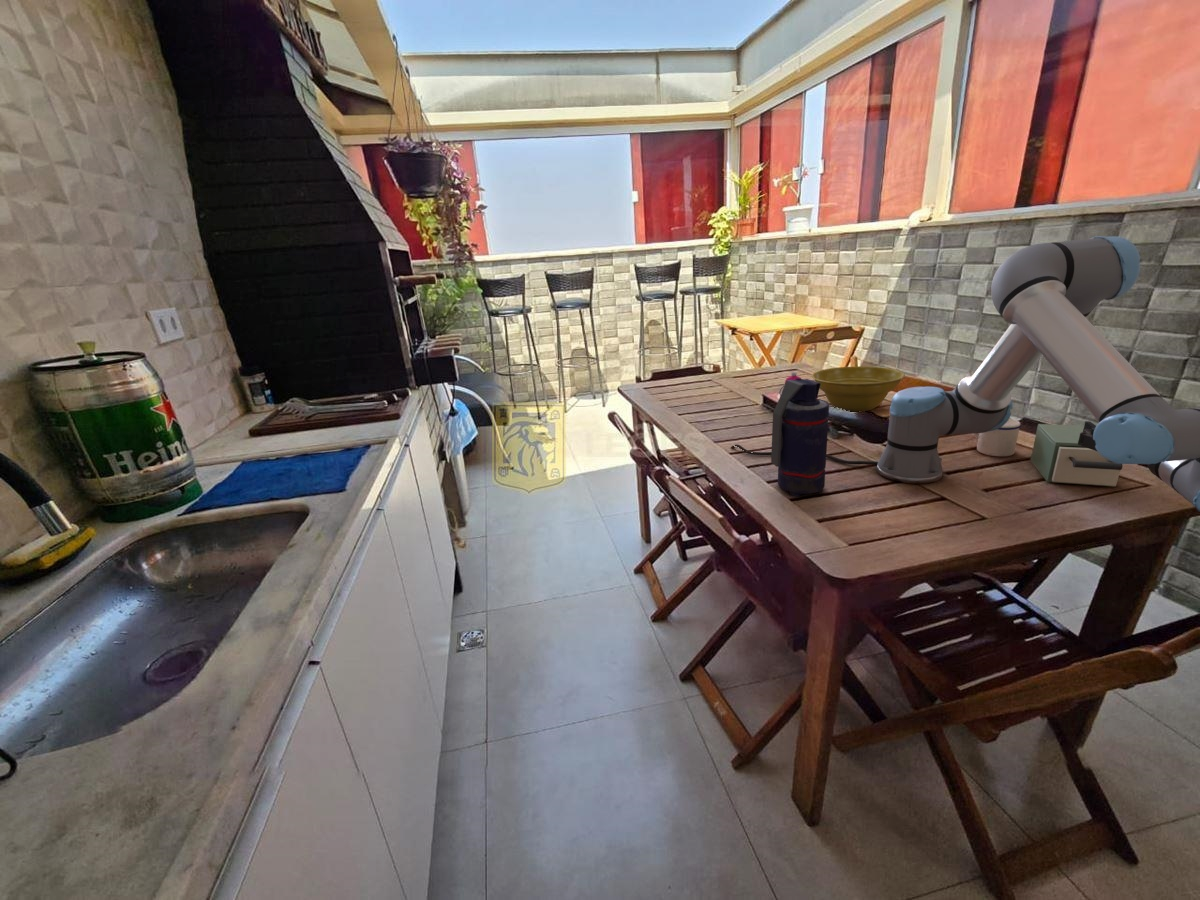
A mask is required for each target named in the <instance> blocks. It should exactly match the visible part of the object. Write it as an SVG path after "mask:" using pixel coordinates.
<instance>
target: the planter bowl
mask: <svg viewBox="0 0 1200 900" xmlns="http://www.w3.org/2000/svg"><path fill="white" fill-rule="evenodd" d="M905 377H906V373H904V372H903V371H901V370H897V369H894V368H888V367H881V366H880V367H879V366H865V365H864V366H862V365H861V366H855V365H854V366H841V367H831V368H824V369H821V370H818V371H815V372H813V373H812V374H811V378H812V379H813V380H814V381H815V382H818V383H821V385H820V389H819V390H821V391H822V392H824V395H825V398H826V399H827V400H828V401H827V402H828V403H829V405H831V406H832V407H834V406H835V407H838V408H842V409H845V410H850V411H849V412H866V411H872V410H874V409H875V408H877V407H879V406H880V405H881V403H882V402H883V401H884V400H885V399H886V397H887V395H888V394H889V393H891V391H894V390H895V389H896V388H897V387H898V386H899V384H900V382H901V381H902V379H904V378H905ZM835 407H834V408H835Z"/></svg>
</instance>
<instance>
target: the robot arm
mask: <svg viewBox="0 0 1200 900" xmlns="http://www.w3.org/2000/svg"><path fill="white" fill-rule="evenodd" d="M1140 255H1141V254H1140V252H1139V250H1138V248H1137V246H1136V245H1135V244H1134V242H1132V241H1130V240H1129V239H1127V238H1125V237H1122V236H1114V235H1113V236H1112V235H1111V236H1102V235H1097V236H1093V237H1090V238H1083V239H1074V240H1073V239H1072V240H1064V241H1054V242H1042V243H1035V244H1031V245H1028V246H1026V247H1023V248H1021V249H1019V250H1017V251H1015V252H1014V253H1013V254H1011V255H1010V256H1008V257H1007V258H1006V259H1005V260H1004V261H1003V262H1002V263H1001V264H1000V266H999V267H998V268H997V270H996V271H995V273H994V276H993V278H992V281H991V284H990V285H991V286H990V296H991V297H990V298H991V301H992V303H993V306H994V308H995V309H996V312H997V313H998V314H999V315H1000V317H1001V318H1002V319H1003V320H1004V321H1005V322H1006V323H1007V324H1010V325H1009V326H1008V328H1006V330H1005V331H1004V333H1003V334H1002V335H1001V337H1000V338H999V340H997V343H996V344H995V345H994V346H993V348H992V349H991V350H990V352H989V353H988V354H987V355H986V357H985V358H984V360H983V361H982V362H981V364H980V365H979V366H978V368H977V369H976V370H975V372H974V373H973V374H972V375H967V376H965V377H964V378H962V379H961V380H960V381H959V382H958V383H957V385H956V387H955V388H953V389H952V390H947V391H946V390H944V389H943V388H941V387H939V386H938V387H937V386H929V385H928V386H913V387H907V388H904V389H901V390H899V391H897V392H896V393H895V394H894V395H893V396H892V398H891V403H890V407H889V417H888V418H889V419H888V429H887V439H886V446H885V447H884V450H883V451H882V452H881V453H882V454H881V456H879V459H878V461H874V460H847V459H842V458H838V457H836V456H834V455H830V454H828V453H826V459H830V460H833V461H835V462H838V463H841V464H846V465H869V466H871V465H872V466H876V472H877V473H878V474H879V475H880V476H881V477H884V478H885V479H887V480H891V481H894V482H897V483H898V482H899V483H904V484H914V485H915V484H916V485H917V484H920V485H921V484H922V485H923V484H931V483H935V482H937V481H939V480H940V479H942V476H943V466H942V461H943V458H942V457H940V454H939V450H938V447H939V439H940V437H945V436H954V435H955V436H957V435H970V434H973V433H978V434H979V433H985V432H988V431H993V430H996V429H999V428H1001V427H1002V426H1003V425H1004V424H1005V423H1006V422H1007V421H1008V420H1009V418H1011V415H1012V411H1011V410H1013V408H1014V407H1013V406H1014V405H1013V400H1012V393H1011V392H1012V391H1013V390H1014V389H1015V388H1016V386H1017V385H1018V384H1019V382H1020V381H1021V380H1023V378H1024V377H1025V376H1026V374H1027V373H1028V372H1029V371H1030V370H1031V369H1032V368H1033V366H1035V364H1036V363H1037V362H1038V361H1039V360H1040V358H1041V357H1042V356H1043V358H1044V359H1046V361H1047V362H1048V363H1049V364H1050V366H1051V367H1052V368H1053V369H1054V371H1055V372H1056V373H1057V374H1058V376H1060V378H1061V379H1062V380H1063V381H1064V382H1065V384H1066V385H1067V386H1068V387H1069V389H1070V390H1071V391H1072V392H1073V393H1074V395H1076V397H1077V398H1078V399H1079V400H1080V402H1081V403H1082V404H1083V405H1084V407H1086V409H1087V410H1088V412H1089V413H1090V414H1092V416H1093V417H1094V418H1095V419H1096V421H1097V422H1098V424H1094V422H1092V421H1090V420H1089V421H1087V420H1086V421H1084V424H1083V425H1084V429H1083V432H1081V433H1080V436H1079V440H1078V445H1080V446H1083V447H1086V448H1089V449H1092V450H1095V451H1098V452H1099V454H1100V455H1101V456H1102V457H1104V458H1105V459H1107V460H1109V461H1111V462H1114V463H1118V464H1122V465H1146V467H1147V469H1148V470H1149V472H1151V474H1152V475H1154V476H1155V477H1157V478H1158V479H1159V480H1161V481H1162V482H1163V483H1164V484H1165V485H1167V486H1168V487H1170V488H1171V489H1173V490H1174V491H1175V492H1177V494H1179V495H1180V496H1181V497H1183V499H1185V500H1186V501H1187V502H1189V503H1190V504H1191V505H1192V506H1194V507H1195V509H1196V510H1197V511H1198V512H1200V407H1191V408H1179V409H1175V408H1173V406H1172V405H1170V404H1169V402H1168V401H1167V400H1166V399H1165V398H1163V396H1161V395H1160V393H1159V392H1158V391H1157V390H1156V389H1155V388H1154V387H1153V386H1152V385H1151V384H1150V383H1149V382H1148V381H1147V380H1146V379H1145V378H1144V377H1143V376H1142V374H1140V373H1139V372H1138V370H1136V368H1135V367H1134V366H1133V365H1131V363H1130V362H1129V361H1128V360H1127V359H1126V358H1125V357H1124V356H1123V355H1122V354H1121V352H1119V351H1118V350H1117V348H1116V347H1114V346H1113V344H1112V343H1111V342H1110V341H1108V339H1107V338H1106V337H1105V336H1104V335H1103V334H1102V333H1101V332H1100V331H1099V330H1098V329H1097V328H1096V327H1095V326H1094V325H1093V323H1091V321H1089V319H1087V317H1088V316H1089V315H1090V314H1091V313H1092V312H1093V311H1094V310H1095V309H1096V307H1097V306H1098V305H1099V304H1100V303H1101V302H1102V301H1104V300H1105V301H1109V300H1114V299H1116V298H1119V297H1122V296H1123V295H1125V294H1126V293H1128V292H1129V291H1130V290H1131V289H1132V288H1133V286H1134V285H1135V284H1136V283H1137V280H1138V278H1139V275H1140V272H1141V267H1142V266H1141V261H1140V260H1141V256H1140ZM734 445H735V446H737V447H734V446H733V445H732V446H730V449H731V450H733V449H736V448H738V447H739V448H738V449H740V450H741V449H742V450H741V451H742V452H744V453H746V454H748V455H753V456H771V451H753V450H752V451H751V450H748V449H746V448H744V446H742V445H740V444H738V443H737V444H736V443H735V444H734ZM743 450H744V451H743ZM746 451H748V452H746ZM751 452H753V453H751Z"/></svg>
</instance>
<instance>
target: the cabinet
mask: <svg viewBox="0 0 1200 900" xmlns="http://www.w3.org/2000/svg"><path fill="white" fill-rule="evenodd" d="M1084 425H1085V424H1083V425H1082V424H1055V423H1053V424H1052V423H1051V424H1049V423H1037V428H1036V433H1035V438H1034V441H1033V446H1032V450H1031V456H1030V459H1029V461H1030V462H1031V464H1032V465H1033V466H1034V467H1035V468H1036V469H1037V471H1038V472H1039V474H1040V475H1041V476H1042V477H1043V479H1044V481H1046V482H1047V483H1054V482H1053V481H1052V476H1053V471H1054V467H1055V463H1056V459H1057V454H1058V450H1059V446H1080V445H1078V440H1079V436H1080V433H1081V432H1083V429H1084ZM1081 447H1083V446H1081ZM1055 483H1058V484H1067V483H1066V482H1055ZM1069 484H1070V485H1071V484H1072V485H1081V484H1080V483H1069ZM1083 485H1084V486H1085V485H1087V486H1095V485H1094V484H1083ZM1097 486H1099V487H1100V486H1101V487H1109V486H1108V485H1097ZM1113 487H1114V488H1116V486H1111V488H1113Z"/></svg>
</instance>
